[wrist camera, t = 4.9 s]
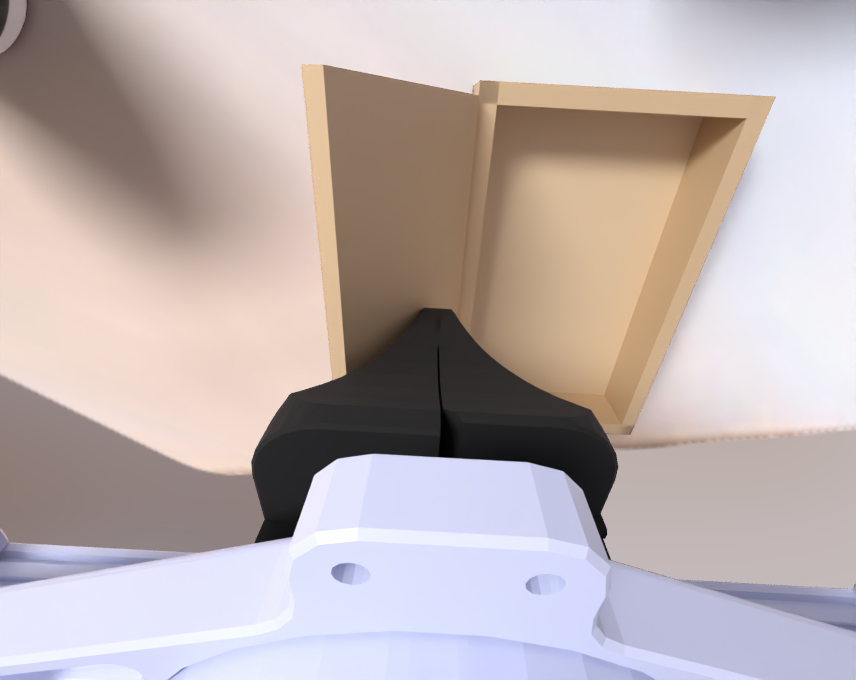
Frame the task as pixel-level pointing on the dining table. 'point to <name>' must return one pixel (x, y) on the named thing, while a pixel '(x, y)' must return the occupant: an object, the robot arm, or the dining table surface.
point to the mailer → (595, 229)
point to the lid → (386, 203)
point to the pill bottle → (11, 21)
